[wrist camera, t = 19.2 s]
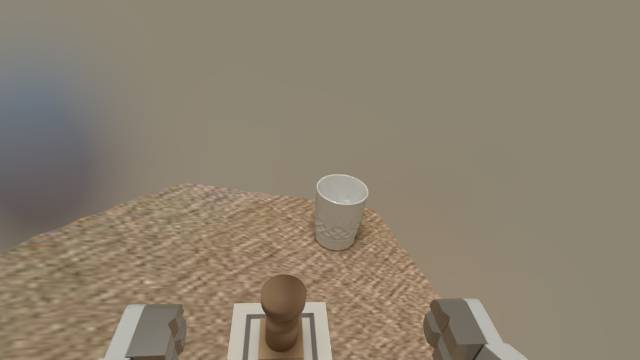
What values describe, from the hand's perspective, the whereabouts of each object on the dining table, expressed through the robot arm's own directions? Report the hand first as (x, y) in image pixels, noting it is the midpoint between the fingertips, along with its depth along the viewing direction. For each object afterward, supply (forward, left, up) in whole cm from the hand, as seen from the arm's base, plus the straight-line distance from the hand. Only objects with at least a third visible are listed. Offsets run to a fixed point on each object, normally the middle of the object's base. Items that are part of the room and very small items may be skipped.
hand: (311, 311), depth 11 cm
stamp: (0, +16, -30) cm, 34 cm away
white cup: (+9, +35, -30) cm, 47 cm away
